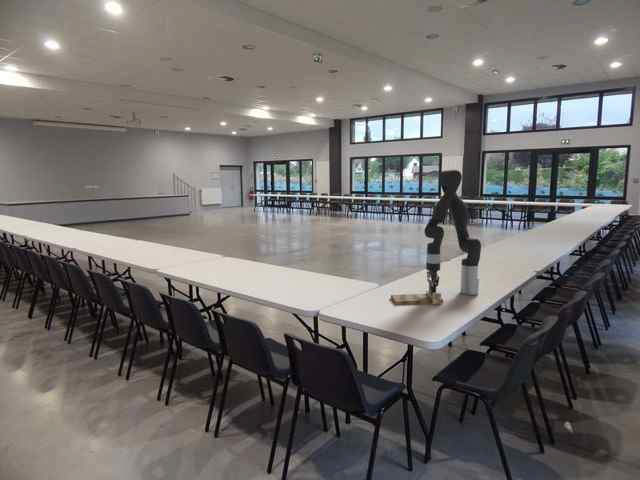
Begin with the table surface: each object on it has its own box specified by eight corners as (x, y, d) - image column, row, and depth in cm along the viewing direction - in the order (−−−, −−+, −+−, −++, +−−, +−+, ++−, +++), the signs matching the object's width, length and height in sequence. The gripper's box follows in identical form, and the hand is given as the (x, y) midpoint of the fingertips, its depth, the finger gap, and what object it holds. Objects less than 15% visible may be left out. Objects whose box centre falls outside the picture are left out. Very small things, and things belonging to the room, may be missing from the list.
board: (435, 296, 233) (435, 293, 233) (442, 303, 222) (443, 299, 221) (390, 298, 232) (390, 294, 232) (396, 304, 220) (396, 301, 220)
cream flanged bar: (431, 295, 234) (432, 280, 233) (440, 304, 219) (441, 287, 218) (424, 296, 234) (425, 280, 233) (433, 304, 219) (434, 287, 217)
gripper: (444, 264, 217) (443, 295, 220) (435, 258, 231) (434, 287, 234) (430, 264, 217) (429, 295, 219) (422, 259, 231) (421, 288, 233)
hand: (432, 291), depth 226 cm, fingers open, 4 cm apart
